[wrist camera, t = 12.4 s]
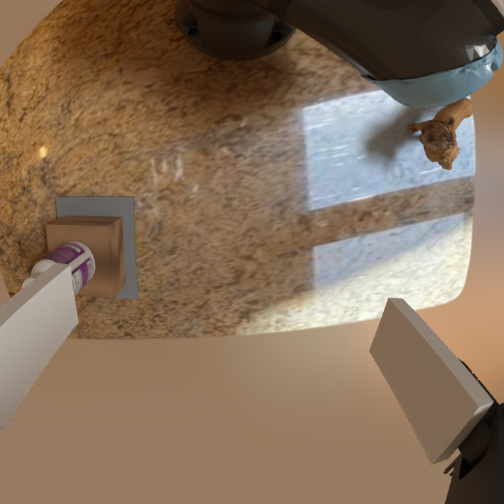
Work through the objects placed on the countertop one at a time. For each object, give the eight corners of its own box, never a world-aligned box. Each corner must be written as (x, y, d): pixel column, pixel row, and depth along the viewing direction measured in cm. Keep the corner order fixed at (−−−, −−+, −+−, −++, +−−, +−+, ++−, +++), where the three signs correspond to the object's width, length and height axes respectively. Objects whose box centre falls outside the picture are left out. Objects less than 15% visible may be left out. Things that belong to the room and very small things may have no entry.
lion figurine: (418, 171, 35) (459, 178, 27) (393, 145, 34) (432, 146, 26) (459, 101, 32) (499, 97, 23) (437, 75, 31) (476, 66, 22)
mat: (57, 196, 34) (55, 197, 33) (134, 196, 34) (133, 197, 34) (67, 290, 38) (66, 291, 38) (138, 298, 39) (137, 299, 38)
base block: (65, 215, 34) (45, 224, 29) (122, 216, 35) (106, 226, 30) (71, 276, 37) (54, 291, 32) (126, 282, 38) (113, 299, 33)
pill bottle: (54, 257, 31) (9, 289, 22) (76, 230, 30) (30, 259, 21) (80, 290, 32) (42, 330, 23) (105, 266, 31) (66, 304, 22)
